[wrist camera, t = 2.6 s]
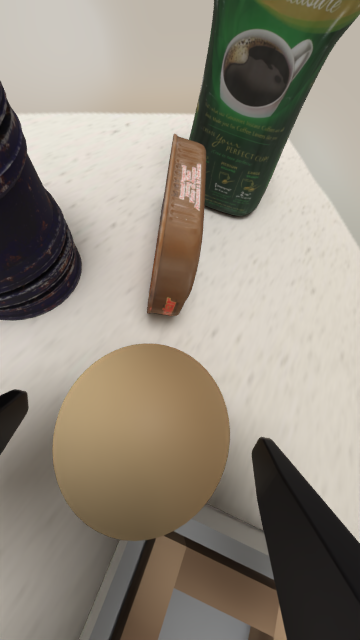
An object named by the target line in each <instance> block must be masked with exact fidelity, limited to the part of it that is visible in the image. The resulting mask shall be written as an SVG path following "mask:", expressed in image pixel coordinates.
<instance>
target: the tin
mask: <svg viewBox="0 0 360 640" xmlns="http://www.w3.org/2000/svg"><path fill="white" fill-rule="evenodd" d="M205 179H206V150H205V147H204V146H203V145H202V144H200V143H197V142H194V141H191V140H188V139H184V138H181V137H178V136H177V135H176V134H174V136H173V142H172V149H171V154H170V161H169V167H168V174H167V181H166V187H165V193H164V199H163V204H162V210H161V217H160V225H159V231H158V238H157V244H156V251H155V258H154V264H153V271H152V278H151V285H150V292H149V299H148V307H147V313H148V314H150V313H157V314H164V315H171V316H177V315H178V314H179V313H180V311H181V309H182V307H183V305H184V303H185V301H186V300H187V298H188V296H189V294H190V292H191V290H192V286H193V283H194V279H195V275H196V271H197V267H198V262H199V257H200V251H201V243H202V235H203V220H204V202H205Z"/></svg>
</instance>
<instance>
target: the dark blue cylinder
mask: <svg viewBox="0 0 360 640" xmlns="http://www.w3.org/2000/svg"><path fill="white" fill-rule="evenodd" d="M81 270H82V263H81V258H80V255H79V252H78V250H77V248H76V246H75V244H74V242H73V238H72V234H71V232H70V230H69V227H68V225H67V223H66V221H65V219H64V216H63V214H62V211H61V209H60V207H59V206H58V205H57V203H56V201H55V200H54V198H53V197H52V196H51V194H50V193H49V192H48V191H47V190H46V189H45V188H44V187H43V185H42V183H41V181H40V179H39V177H38V175H37V172H36V170H35V168H34V166H33V164H32V162H31V160H30V158H29V156H28V154H27V146H26V139H25V137H24V135H23V132H22V128H21V124H20V121H19V119H18V117H17V115H16V113H15V112H14V111H13V109H12V108H11V107H10V105H9V103H8V100H7V98H6V93H5V91H4V88H3V86H2V84H1V81H0V320H24V319H28V318H33V317H36V316H39V315H42V314H44V313H46V312H48V311H50V310H52V309H54V308H55V307H57V306H58V305H60V304H61V303H62V302H63V301H65V300H66V299H67V298H68V297H69V296H70V294H71V293H72V292H73V291H74V289H75V287H76V286H77V284H78V281H79V279H80V276H81Z"/></svg>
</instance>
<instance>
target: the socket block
mask: <svg viewBox="0 0 360 640" xmlns="http://www.w3.org/2000/svg"><path fill="white" fill-rule="evenodd" d="M174 588H175V589H177V590H179V591H181V592H183V593H185V594H187V595H189V596H191V597H193V598H195V599H197V600H199V601H201V602H203V603H205V604H207V605H209V606H211V607H213V608H215V609H217V610H219V611H221V612H223V613H225V614H227V615H230V616H232V617H234V618H236V619H238V620H240V621H242V622H244V623H246V624H248V625H250V626H251V627H250V633H249V638H248V640H287V638H286V633H285V629H284V624H283V619H282V615H281V610H280V605H279V601H278V596H277V591H276V586H275V582H274V580H273V579H271V578H269V577H267V576H265V575H263V574H261V573H259V572H257V571H255V570H253V569H251V568H249V567H246V566H244V565H242V564H240V563H238V562H236V561H234V560H232V559H230V558H228V557H226V556H224V555H222V554H220V553H218V552H216V551H214V550H212V549H209V548H207V547H205V546H203V545H201V544H199V543H197V542H195V541H193V540H191V539H189V538H187V537H185V536H183V535H181V534H179V533H177V532H174V531H172V532H170V533H168V534H166V535H163V536H161V537H157V538H153V539H149V540H147V543H146V545H145V548H144V551H143V553H142V556H141V559H140V562H139V564H138V567H137V570H136V572H135V575H134V578H133V581H132V583H131V586H130V589H129V591H128V594H127V597H126V600H125V602H124V605H123V608H122V610H121V613H120V616H119V619H118V621H117V624H116V627H115V629H114V632H113V635H112V638H111V640H158V638H159V634H160V631H161V628H162V625H163V621H164V618H165V615H166V612H167V608H168V605H169V602H170V599H171V595H172V592H173V589H174Z"/></svg>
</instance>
